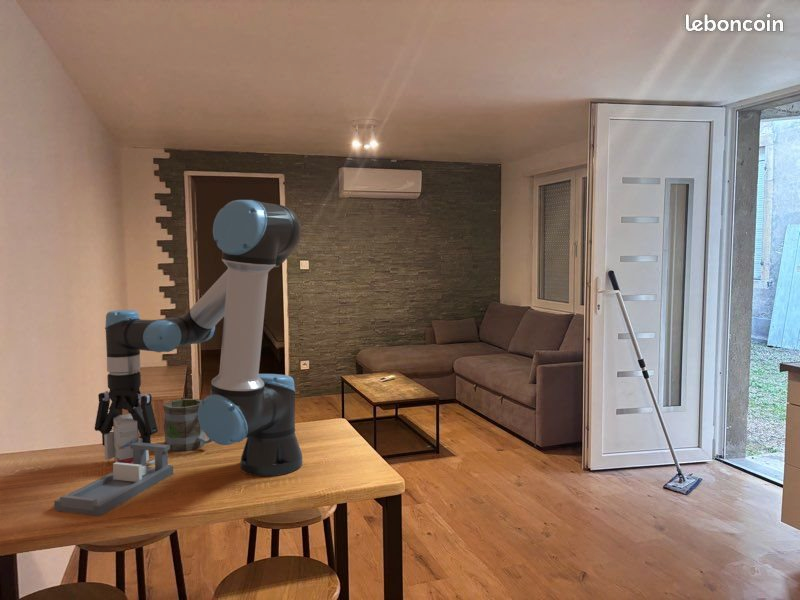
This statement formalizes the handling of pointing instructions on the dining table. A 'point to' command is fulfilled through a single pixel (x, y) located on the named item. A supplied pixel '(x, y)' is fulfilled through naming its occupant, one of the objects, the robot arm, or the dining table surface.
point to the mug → (183, 426)
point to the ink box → (124, 437)
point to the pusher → (130, 471)
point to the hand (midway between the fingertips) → (126, 459)
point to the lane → (117, 484)
